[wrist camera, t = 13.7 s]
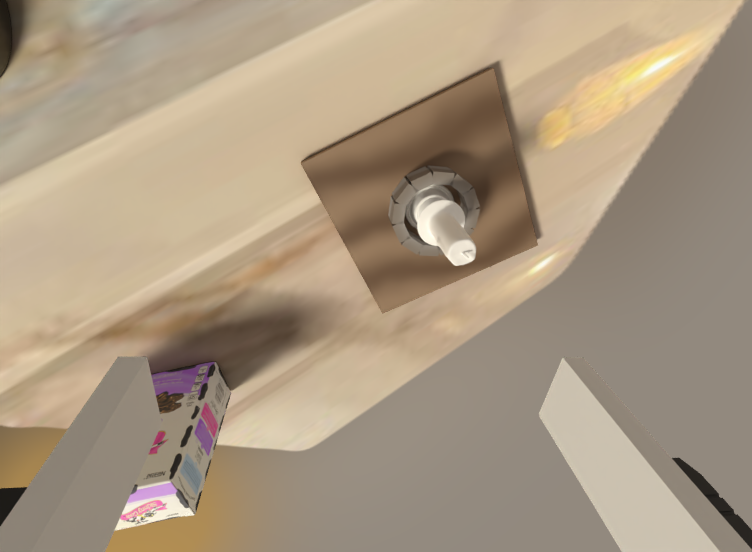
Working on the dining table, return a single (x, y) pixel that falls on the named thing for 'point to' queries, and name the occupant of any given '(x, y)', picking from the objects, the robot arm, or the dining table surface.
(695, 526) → the robot arm
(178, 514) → the candy box
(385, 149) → the flange board
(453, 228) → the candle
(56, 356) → the dining table surface
